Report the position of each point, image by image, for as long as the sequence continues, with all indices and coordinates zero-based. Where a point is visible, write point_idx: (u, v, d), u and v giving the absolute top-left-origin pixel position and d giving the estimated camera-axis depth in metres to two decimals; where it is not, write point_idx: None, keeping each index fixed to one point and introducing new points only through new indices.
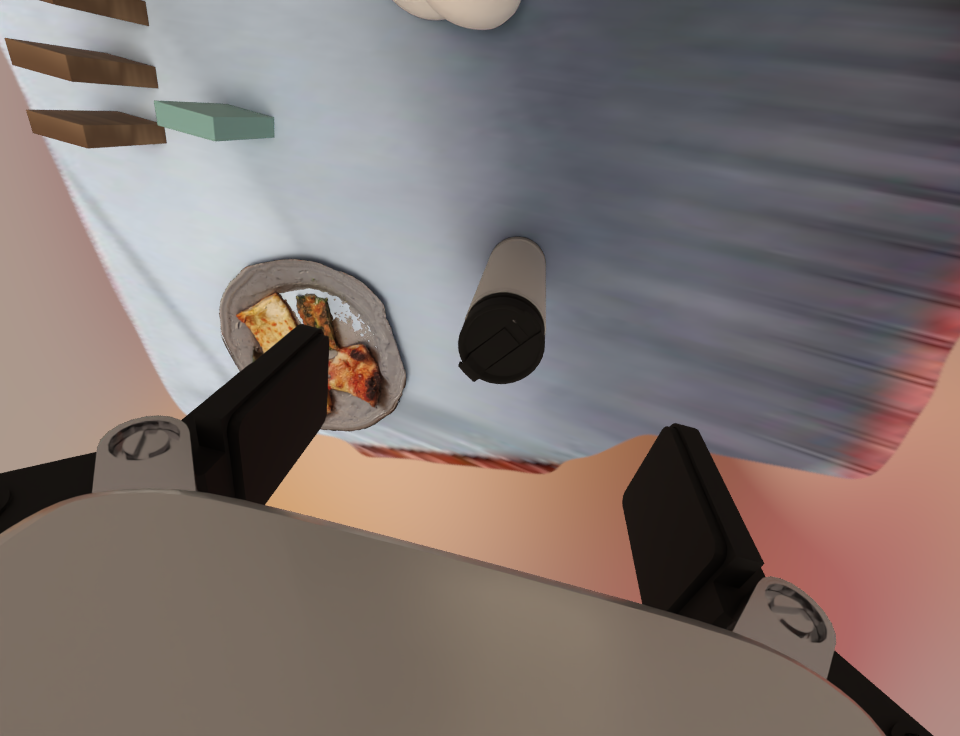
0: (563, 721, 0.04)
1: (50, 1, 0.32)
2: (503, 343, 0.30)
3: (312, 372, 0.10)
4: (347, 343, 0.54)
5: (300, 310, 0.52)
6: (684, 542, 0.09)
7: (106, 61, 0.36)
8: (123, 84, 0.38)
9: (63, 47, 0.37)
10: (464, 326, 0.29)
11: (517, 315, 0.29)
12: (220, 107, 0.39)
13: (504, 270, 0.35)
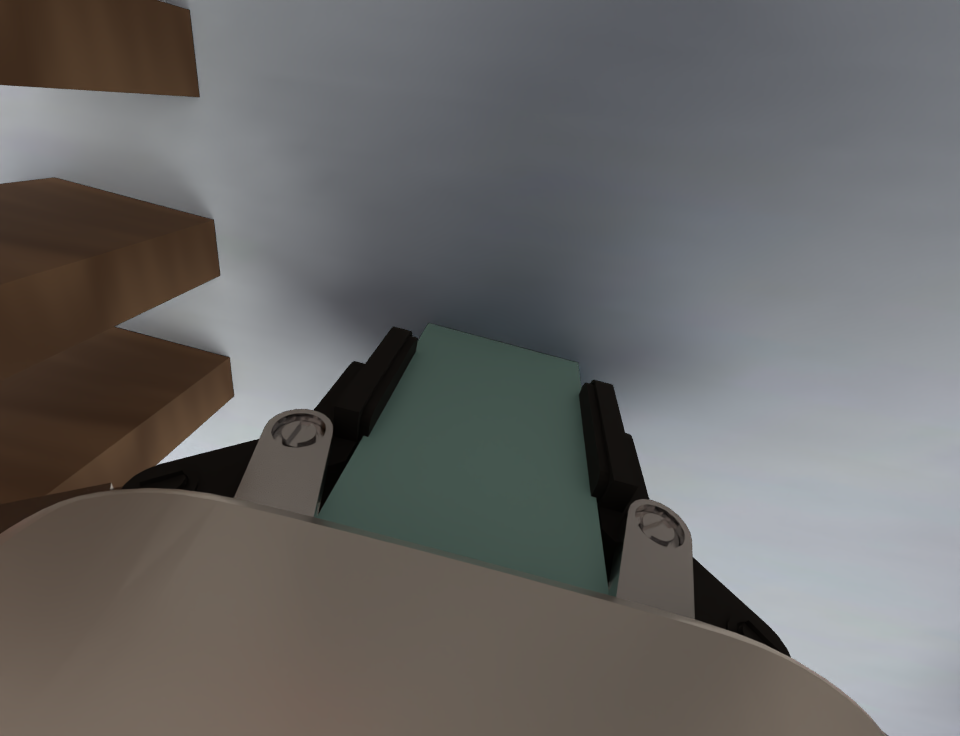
0: (562, 721, 0.04)
1: None
2: None
3: None
4: None
5: None
6: None
7: (28, 280, 0.08)
8: (108, 325, 0.10)
9: None
10: None
11: None
12: (458, 387, 0.11)
13: None
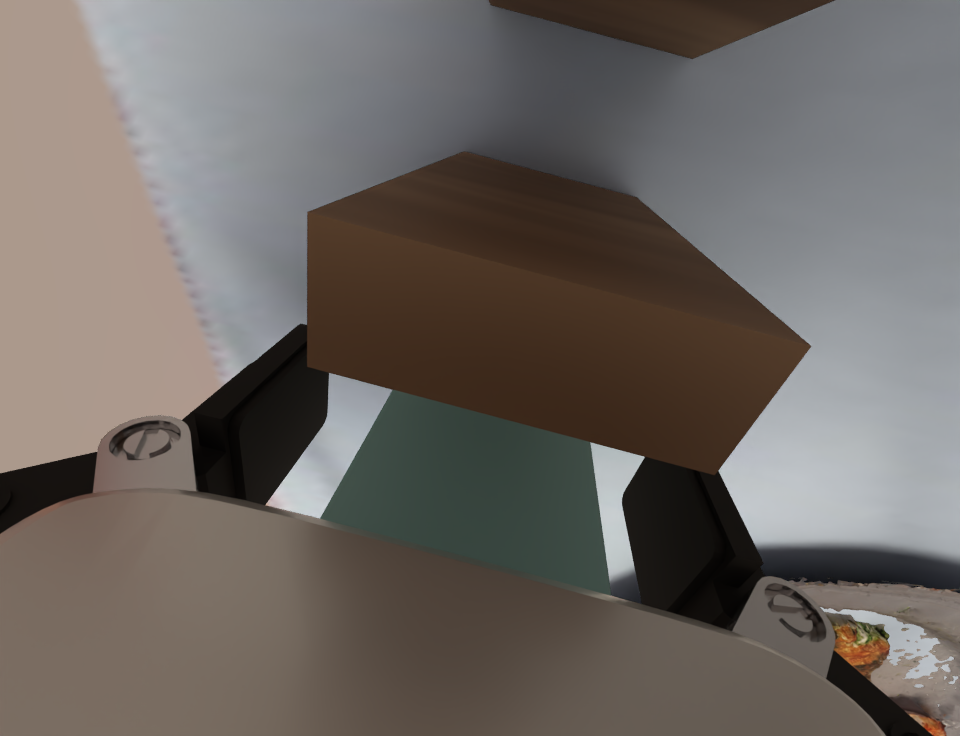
0: (563, 721, 0.04)
1: None
2: None
3: (313, 372, 0.10)
4: None
5: None
6: (684, 542, 0.09)
7: None
8: None
9: None
10: None
11: None
12: None
13: None
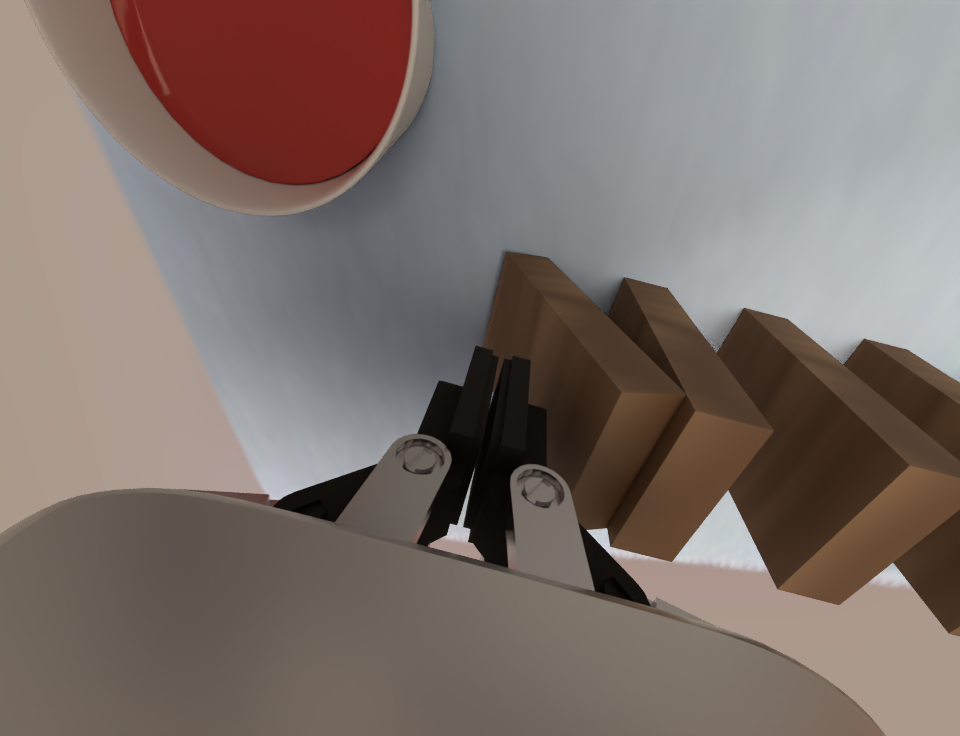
0: (563, 721, 0.04)
1: (764, 435, 0.09)
2: None
3: None
4: None
5: None
6: (485, 447, 0.10)
7: (821, 378, 0.12)
8: (846, 369, 0.13)
9: None
10: None
11: None
12: None
13: None
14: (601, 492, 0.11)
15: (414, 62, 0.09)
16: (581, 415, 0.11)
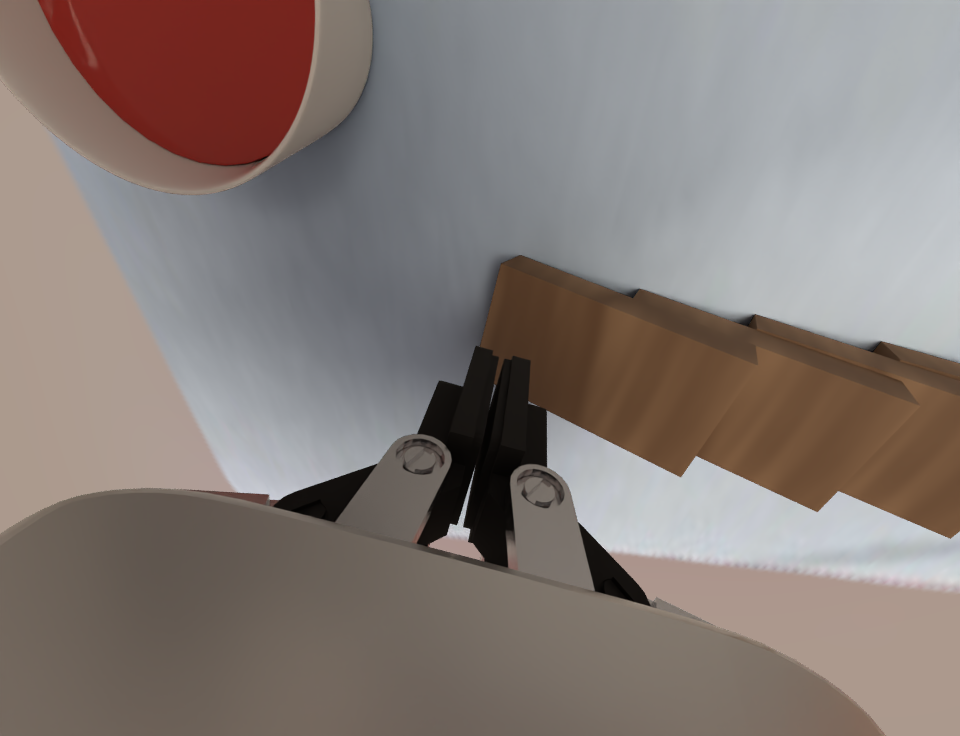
0: (563, 721, 0.04)
1: None
2: None
3: None
4: None
5: None
6: (485, 447, 0.10)
7: (931, 386, 0.14)
8: (871, 353, 0.15)
9: None
10: None
11: None
12: None
13: None
14: None
15: (320, 37, 0.09)
16: (704, 390, 0.14)
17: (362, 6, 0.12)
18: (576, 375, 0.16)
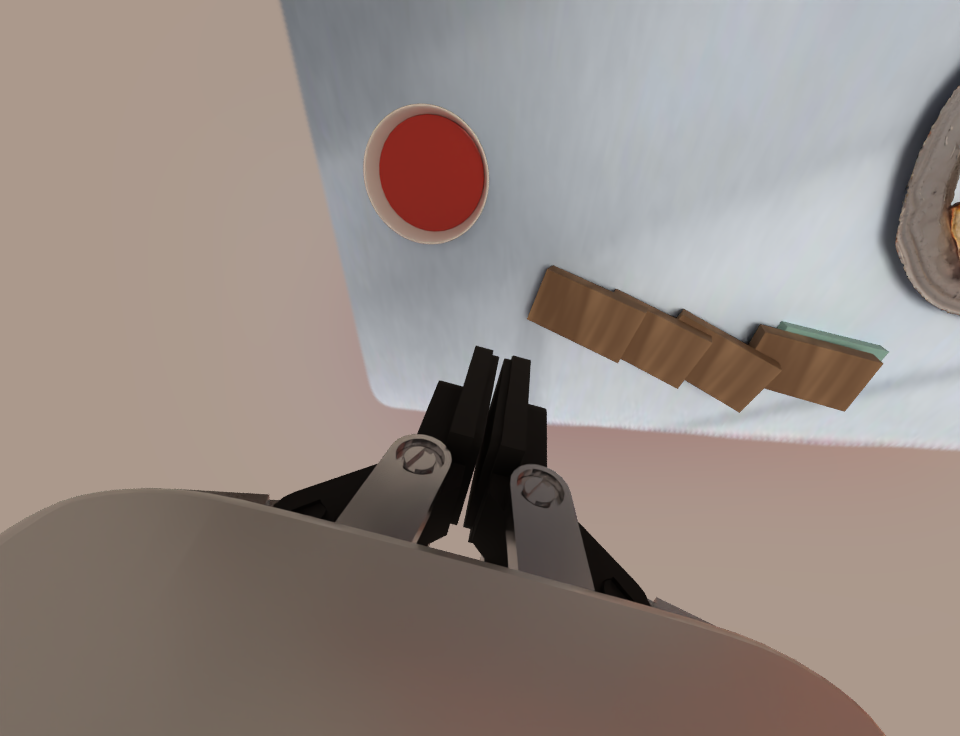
0: (563, 720, 0.04)
1: None
2: None
3: None
4: None
5: None
6: (485, 447, 0.10)
7: (740, 346, 0.35)
8: None
9: (700, 381, 0.38)
10: None
11: None
12: None
13: None
14: None
15: None
16: (627, 323, 0.35)
17: None
18: (576, 318, 0.37)
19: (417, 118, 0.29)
